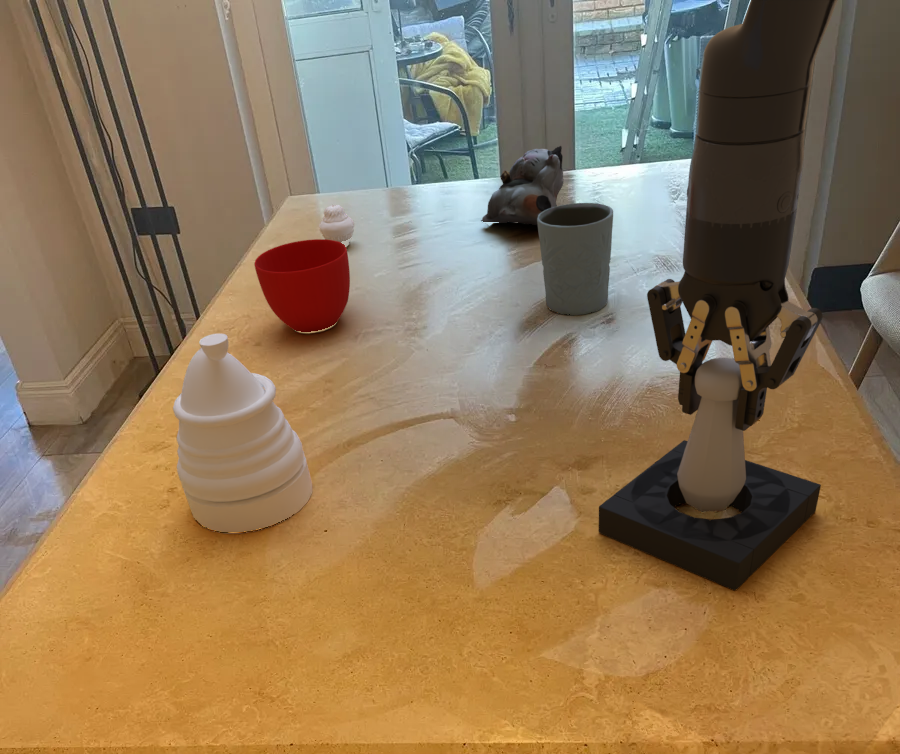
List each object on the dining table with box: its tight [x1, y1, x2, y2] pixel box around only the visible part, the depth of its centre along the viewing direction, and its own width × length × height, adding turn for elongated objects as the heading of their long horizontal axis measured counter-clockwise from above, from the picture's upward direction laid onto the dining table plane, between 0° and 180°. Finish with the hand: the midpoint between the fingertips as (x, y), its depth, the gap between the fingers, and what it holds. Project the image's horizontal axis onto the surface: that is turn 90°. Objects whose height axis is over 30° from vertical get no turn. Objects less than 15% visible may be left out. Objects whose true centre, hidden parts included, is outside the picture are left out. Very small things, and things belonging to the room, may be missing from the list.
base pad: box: [598, 439, 822, 591], centre depth 77 cm, size 14×14×3 cm
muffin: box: [318, 204, 355, 242], centre depth 147 cm, size 6×6×7 cm
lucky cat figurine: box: [480, 145, 565, 226], centre depth 144 cm, size 15×12×14 cm
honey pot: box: [172, 332, 313, 532], centre depth 84 cm, size 13×13×18 cm
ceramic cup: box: [254, 238, 351, 332], centre depth 122 cm, size 13×17×10 cm
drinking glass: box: [537, 202, 614, 316], centre depth 116 cm, size 10×10×12 cm
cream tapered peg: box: [677, 357, 746, 513], centre depth 72 cm, size 6×6×13 cm
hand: (718, 416), depth 71 cm, fingers closed on cream tapered peg, 4 cm apart
